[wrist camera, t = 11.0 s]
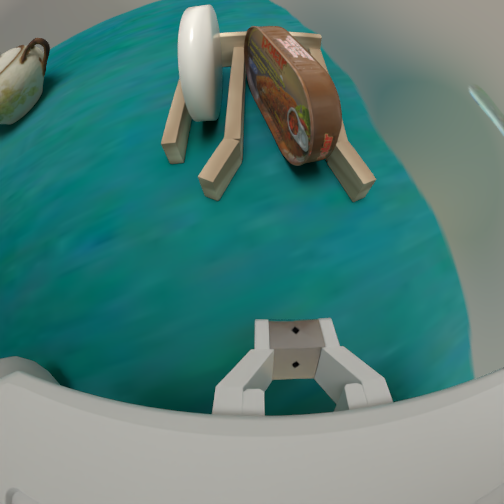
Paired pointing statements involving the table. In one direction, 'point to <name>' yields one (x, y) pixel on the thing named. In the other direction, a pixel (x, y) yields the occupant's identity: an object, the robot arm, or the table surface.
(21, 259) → the table surface
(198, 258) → the table surface
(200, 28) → the racked plate
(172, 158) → the rack
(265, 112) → the tin
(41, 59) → the sugar bowl
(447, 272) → the table surface
